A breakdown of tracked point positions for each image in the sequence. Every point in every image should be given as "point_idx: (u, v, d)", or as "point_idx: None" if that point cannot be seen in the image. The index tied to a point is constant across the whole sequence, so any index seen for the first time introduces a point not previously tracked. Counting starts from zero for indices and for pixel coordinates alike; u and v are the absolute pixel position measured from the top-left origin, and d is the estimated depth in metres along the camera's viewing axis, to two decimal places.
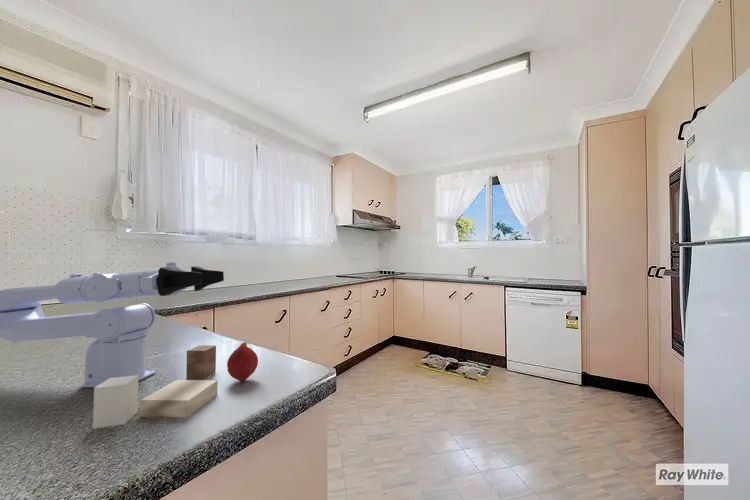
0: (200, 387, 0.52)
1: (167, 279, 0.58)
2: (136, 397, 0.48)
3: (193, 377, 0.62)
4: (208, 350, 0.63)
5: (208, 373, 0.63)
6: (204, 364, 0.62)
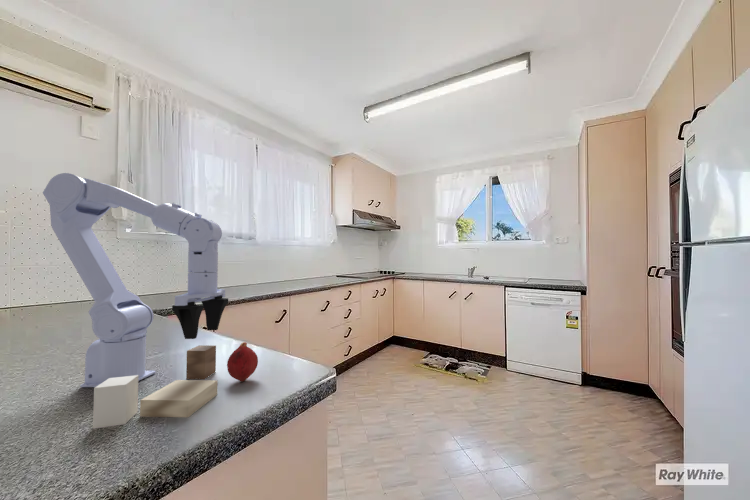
0: (200, 387, 0.52)
1: None
2: (136, 397, 0.48)
3: (193, 377, 0.62)
4: (208, 350, 0.63)
5: (208, 373, 0.63)
6: (204, 364, 0.62)
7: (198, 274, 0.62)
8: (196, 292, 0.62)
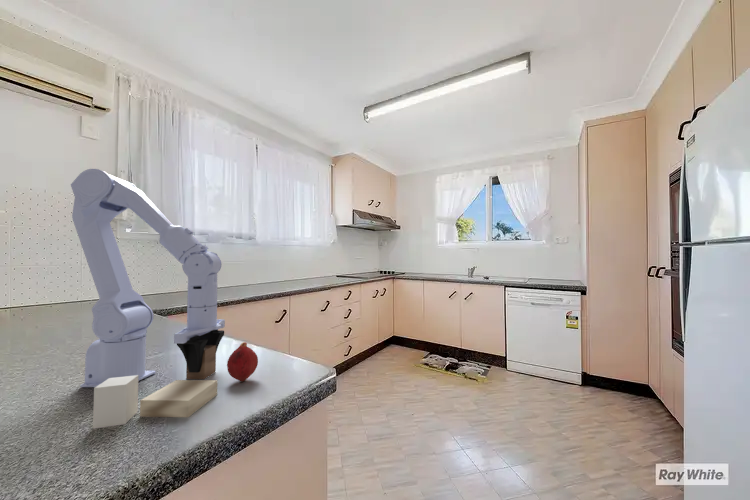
0: (200, 386, 0.52)
1: None
2: (136, 397, 0.48)
3: (193, 377, 0.62)
4: (208, 350, 0.63)
5: (208, 373, 0.63)
6: (204, 363, 0.62)
7: (197, 309, 0.62)
8: (195, 327, 0.62)
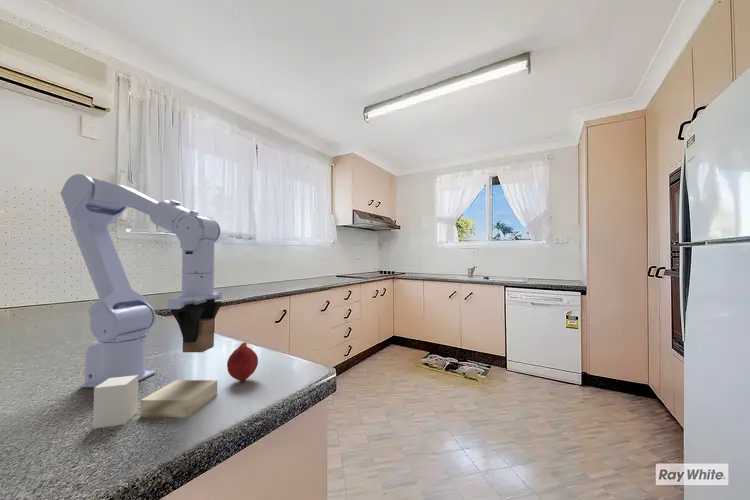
0: (200, 386, 0.52)
1: None
2: (136, 397, 0.48)
3: (190, 350, 0.58)
4: (206, 322, 0.60)
5: (206, 346, 0.60)
6: (201, 336, 0.58)
7: (193, 275, 0.58)
8: (191, 294, 0.58)
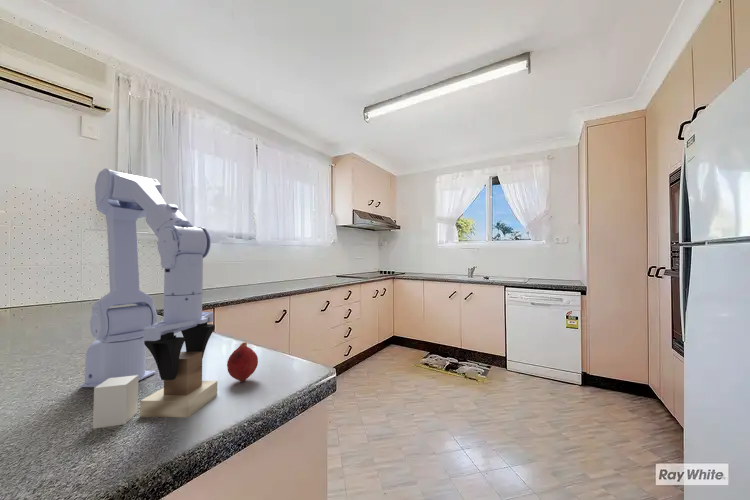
0: (200, 387, 0.52)
1: None
2: (136, 397, 0.48)
3: (172, 392, 0.49)
4: (192, 358, 0.50)
5: (192, 387, 0.50)
6: (186, 375, 0.49)
7: (176, 297, 0.49)
8: (174, 320, 0.49)
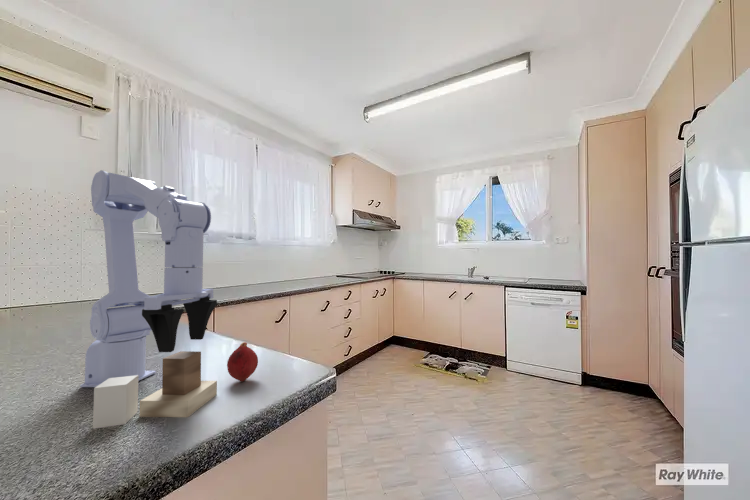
0: (199, 387, 0.52)
1: None
2: (136, 397, 0.48)
3: (170, 392, 0.49)
4: (189, 358, 0.50)
5: (190, 387, 0.50)
6: (183, 375, 0.49)
7: (177, 269, 0.49)
8: (174, 292, 0.49)
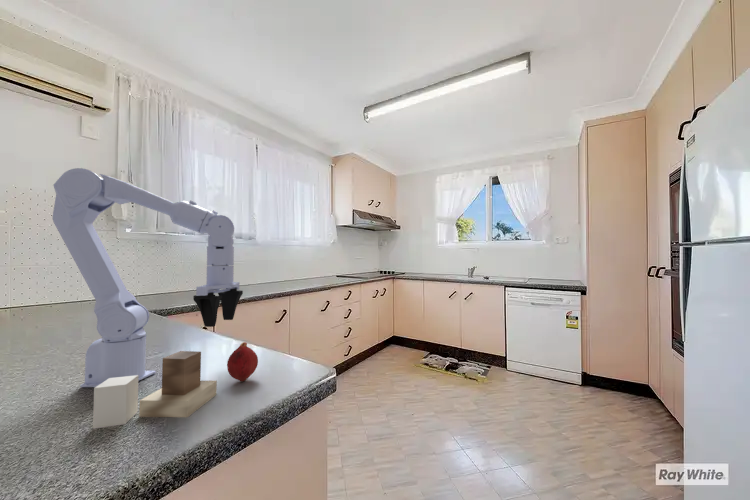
0: (199, 387, 0.52)
1: None
2: (136, 397, 0.48)
3: (170, 392, 0.49)
4: (189, 358, 0.50)
5: (189, 387, 0.50)
6: (183, 375, 0.49)
7: (216, 267, 0.67)
8: (215, 284, 0.67)
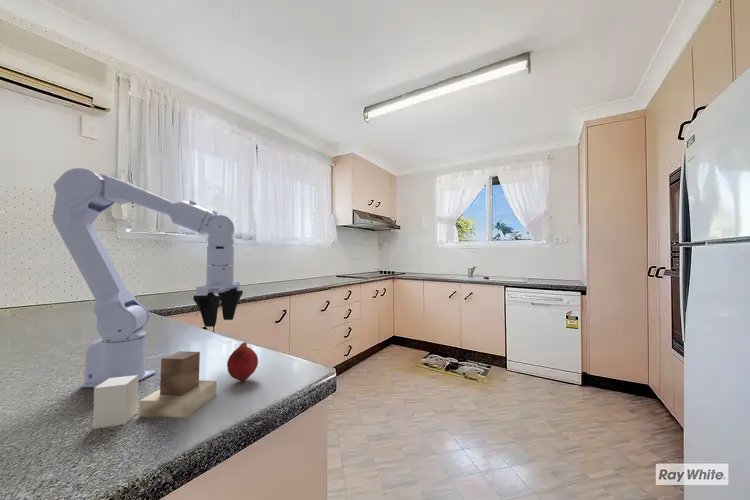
0: (199, 387, 0.52)
1: None
2: (136, 397, 0.48)
3: (168, 392, 0.49)
4: (188, 358, 0.50)
5: (188, 387, 0.50)
6: (182, 375, 0.49)
7: (216, 267, 0.67)
8: (215, 284, 0.67)
